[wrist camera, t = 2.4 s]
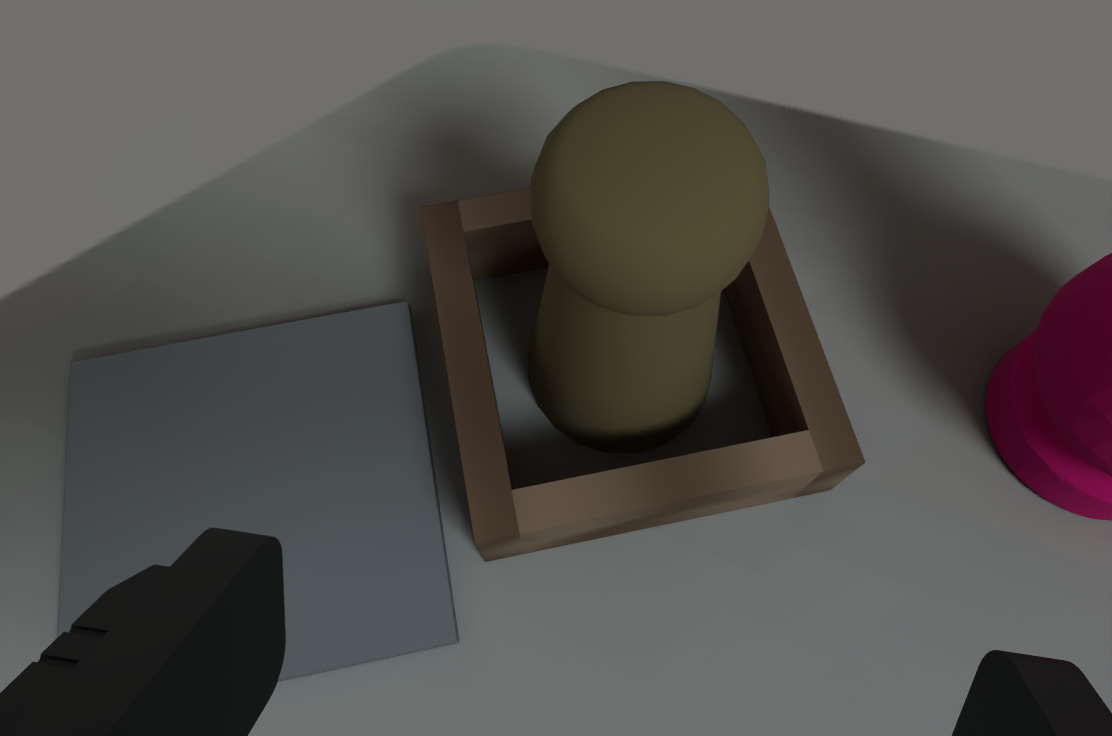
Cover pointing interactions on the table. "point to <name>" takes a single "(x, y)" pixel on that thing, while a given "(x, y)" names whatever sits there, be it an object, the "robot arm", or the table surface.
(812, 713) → the table surface
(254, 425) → the rubber mat
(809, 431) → the walnut collar
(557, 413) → the cork
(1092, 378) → the pepper mill
